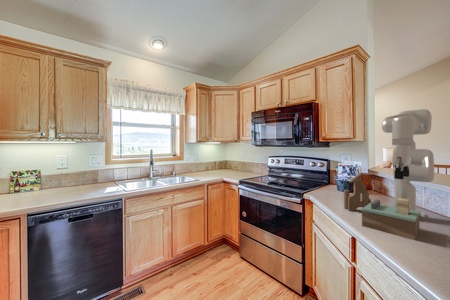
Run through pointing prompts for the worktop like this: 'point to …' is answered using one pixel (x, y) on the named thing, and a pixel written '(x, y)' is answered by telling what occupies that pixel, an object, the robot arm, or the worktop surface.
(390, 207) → the lid
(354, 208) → the wooden toy
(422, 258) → the worktop surface
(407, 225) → the open wooden box
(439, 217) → the worktop surface
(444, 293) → the worktop surface
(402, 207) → the block
